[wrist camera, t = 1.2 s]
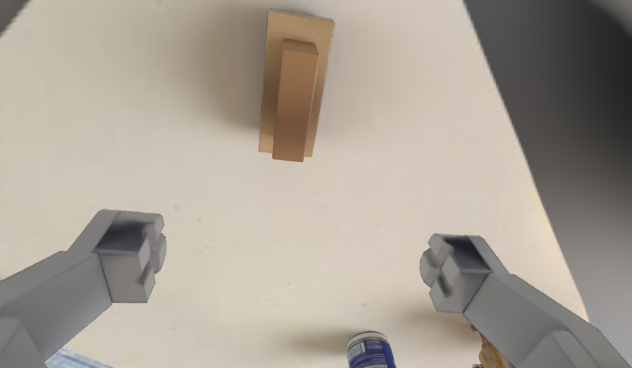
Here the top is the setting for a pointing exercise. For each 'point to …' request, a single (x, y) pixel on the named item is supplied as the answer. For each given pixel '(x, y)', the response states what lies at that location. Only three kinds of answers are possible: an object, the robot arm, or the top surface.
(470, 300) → the robot arm
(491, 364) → the lion figurine
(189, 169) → the top surface
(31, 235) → the top surface
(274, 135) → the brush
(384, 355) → the pill bottle
